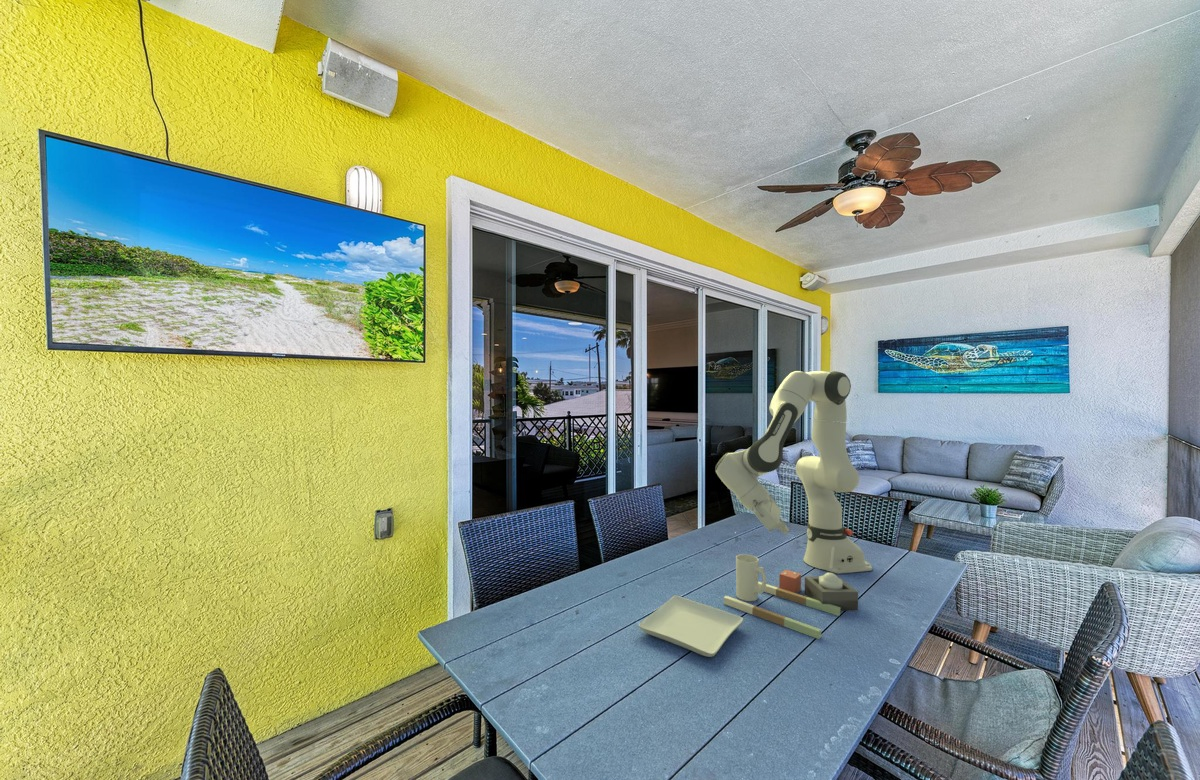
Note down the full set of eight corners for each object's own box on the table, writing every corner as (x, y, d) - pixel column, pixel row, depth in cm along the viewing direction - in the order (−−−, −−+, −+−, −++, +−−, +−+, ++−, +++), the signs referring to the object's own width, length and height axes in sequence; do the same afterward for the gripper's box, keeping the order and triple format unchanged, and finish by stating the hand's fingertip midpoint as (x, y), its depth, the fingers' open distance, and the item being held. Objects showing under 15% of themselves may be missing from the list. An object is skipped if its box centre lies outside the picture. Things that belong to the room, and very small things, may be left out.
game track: (723, 603, 135) (723, 597, 135) (750, 585, 148) (750, 579, 148) (819, 639, 116) (819, 631, 116) (840, 614, 129) (840, 607, 129)
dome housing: (837, 593, 142) (838, 576, 142) (857, 610, 131) (858, 591, 131) (804, 594, 141) (804, 576, 141) (822, 610, 131) (822, 591, 131)
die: (779, 589, 145) (779, 572, 144) (785, 584, 148) (785, 568, 148) (795, 594, 141) (795, 577, 141) (801, 589, 145) (801, 572, 145)
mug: (730, 595, 140) (731, 557, 140) (744, 589, 144) (744, 552, 144) (758, 608, 132) (759, 567, 132) (772, 602, 136) (772, 562, 136)
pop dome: (835, 582, 140) (835, 568, 140) (846, 592, 133) (847, 577, 133) (814, 582, 139) (814, 568, 139) (825, 592, 133) (825, 577, 133)
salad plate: (713, 668, 104) (713, 653, 104) (636, 637, 117) (636, 623, 117) (745, 629, 121) (745, 616, 121) (674, 605, 134) (674, 594, 134)
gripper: (760, 498, 135) (794, 535, 131) (764, 485, 153) (795, 518, 149) (744, 511, 136) (778, 548, 132) (750, 497, 155) (780, 529, 151)
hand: (787, 532), depth 141 cm, fingers closed
